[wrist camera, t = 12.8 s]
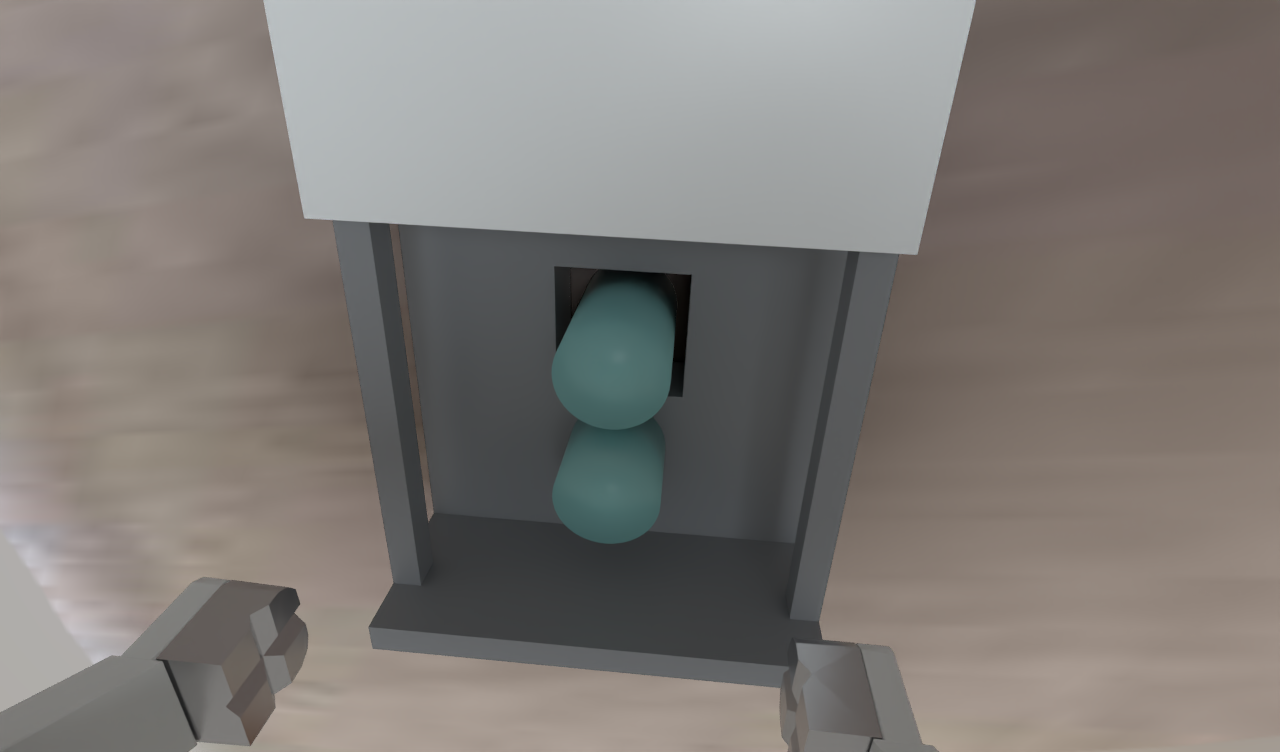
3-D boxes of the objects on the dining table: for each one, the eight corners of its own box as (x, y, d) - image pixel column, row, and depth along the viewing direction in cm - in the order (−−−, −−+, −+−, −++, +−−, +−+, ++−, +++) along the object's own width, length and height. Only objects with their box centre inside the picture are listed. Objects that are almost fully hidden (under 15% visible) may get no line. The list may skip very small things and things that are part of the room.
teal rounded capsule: (680, 261, 25) (674, 326, 19) (674, 349, 26) (667, 433, 21) (585, 255, 25) (550, 317, 19) (584, 343, 27) (552, 425, 21)
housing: (962, -470, 16) (1226, -991, 8) (789, 516, 29) (824, 691, 21) (363, -470, 17) (56, -943, 9) (459, 489, 30) (372, 648, 22)
